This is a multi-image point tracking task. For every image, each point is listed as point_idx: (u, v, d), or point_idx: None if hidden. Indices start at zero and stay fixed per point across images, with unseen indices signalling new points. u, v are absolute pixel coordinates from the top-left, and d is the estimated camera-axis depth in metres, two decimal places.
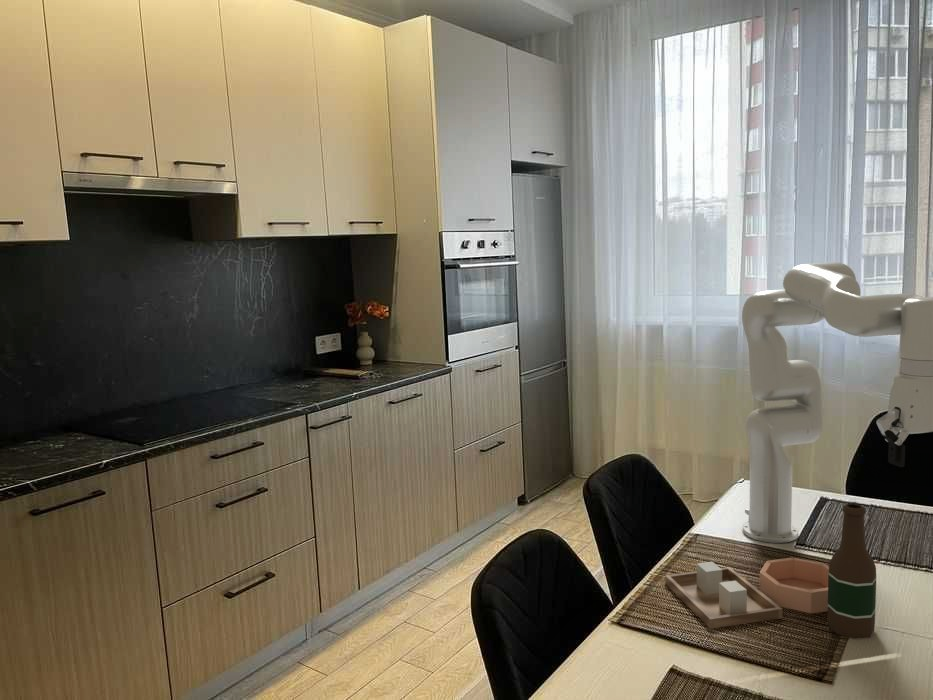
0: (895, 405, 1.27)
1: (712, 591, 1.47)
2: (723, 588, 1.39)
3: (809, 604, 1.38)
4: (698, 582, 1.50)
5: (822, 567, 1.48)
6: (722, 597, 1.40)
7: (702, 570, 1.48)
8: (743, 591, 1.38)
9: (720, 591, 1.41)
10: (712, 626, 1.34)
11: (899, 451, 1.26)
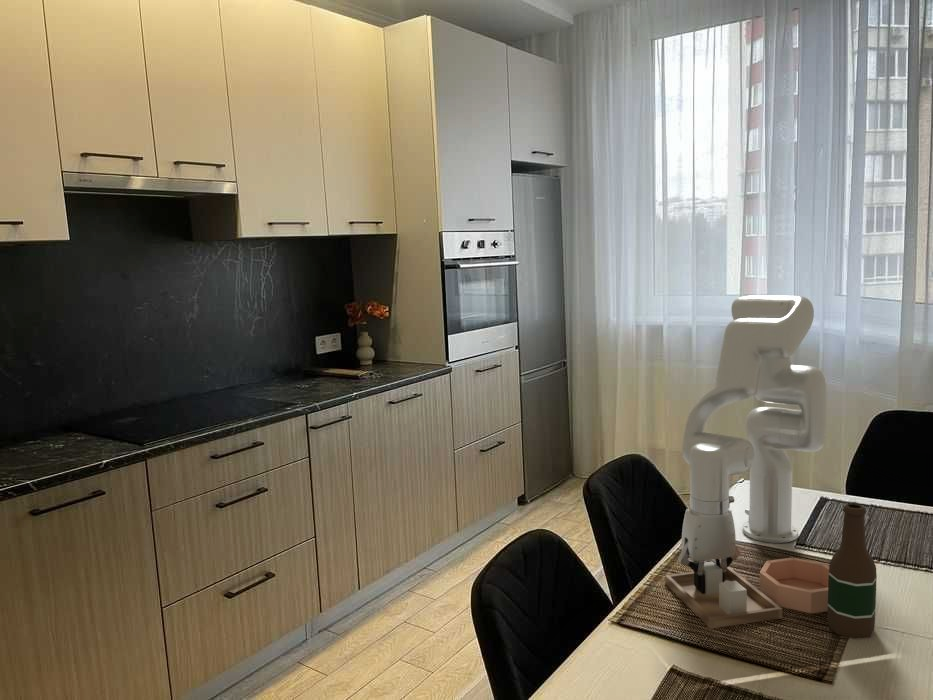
0: (685, 536, 1.47)
1: (712, 591, 1.47)
2: (723, 588, 1.39)
3: (809, 604, 1.38)
4: None
5: (822, 567, 1.48)
6: (722, 597, 1.40)
7: None
8: (743, 591, 1.38)
9: (720, 591, 1.41)
10: (712, 626, 1.34)
11: (701, 580, 1.47)
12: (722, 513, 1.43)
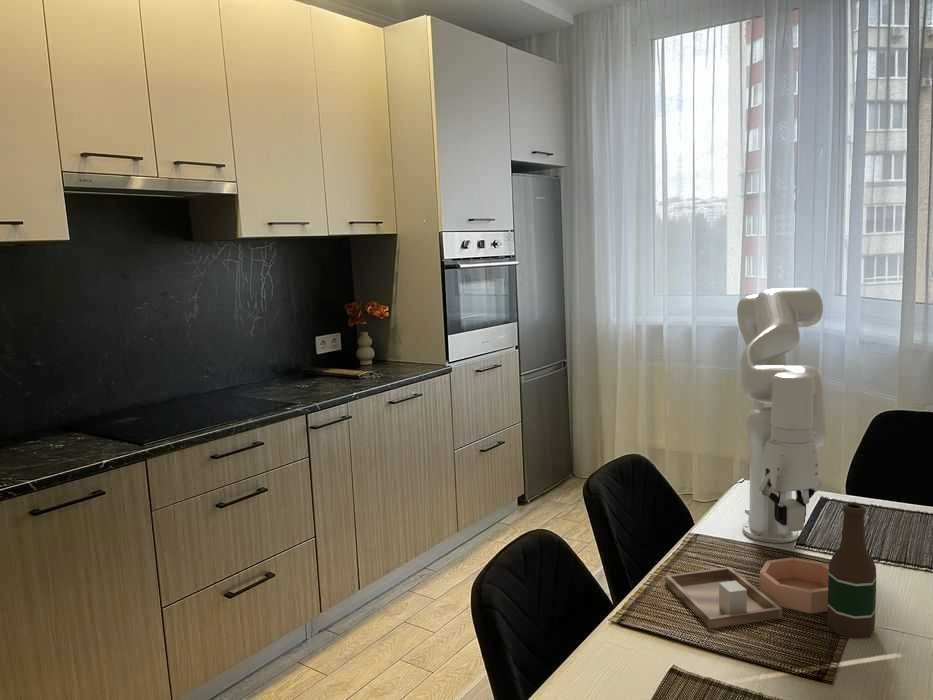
0: (766, 466, 1.44)
1: (793, 528, 1.44)
2: (723, 588, 1.39)
3: (809, 604, 1.38)
4: None
5: (822, 567, 1.48)
6: (722, 597, 1.40)
7: None
8: (743, 591, 1.38)
9: (720, 591, 1.41)
10: (712, 626, 1.34)
11: (782, 512, 1.44)
12: (806, 442, 1.40)
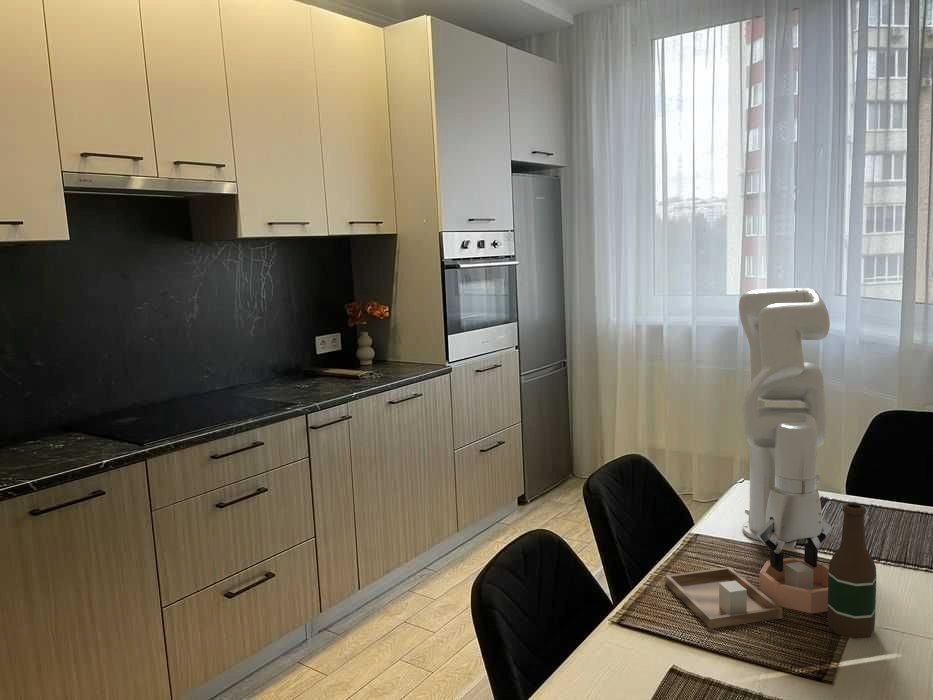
0: (770, 515, 1.45)
1: None
2: (723, 588, 1.39)
3: (809, 604, 1.38)
4: (787, 583, 1.47)
5: (822, 567, 1.48)
6: (722, 597, 1.40)
7: (792, 571, 1.45)
8: (743, 591, 1.38)
9: (720, 591, 1.41)
10: (712, 626, 1.34)
11: (778, 558, 1.45)
12: (810, 492, 1.41)
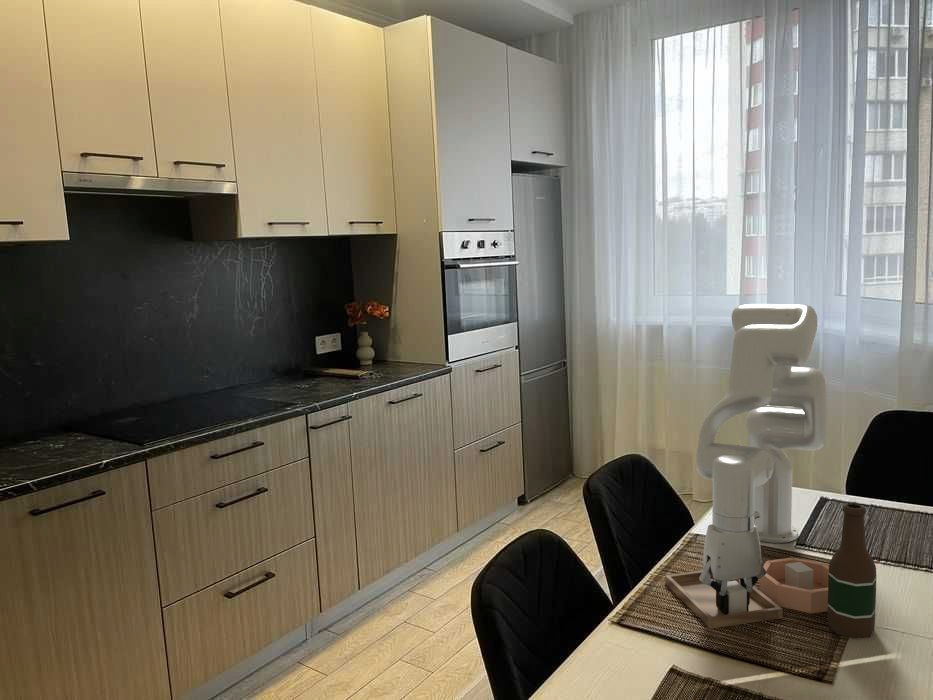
0: (707, 554, 1.38)
1: None
2: None
3: (809, 604, 1.38)
4: (787, 583, 1.47)
5: (822, 567, 1.48)
6: None
7: (792, 571, 1.45)
8: (743, 591, 1.38)
9: None
10: (712, 626, 1.34)
11: (724, 601, 1.38)
12: (747, 530, 1.34)
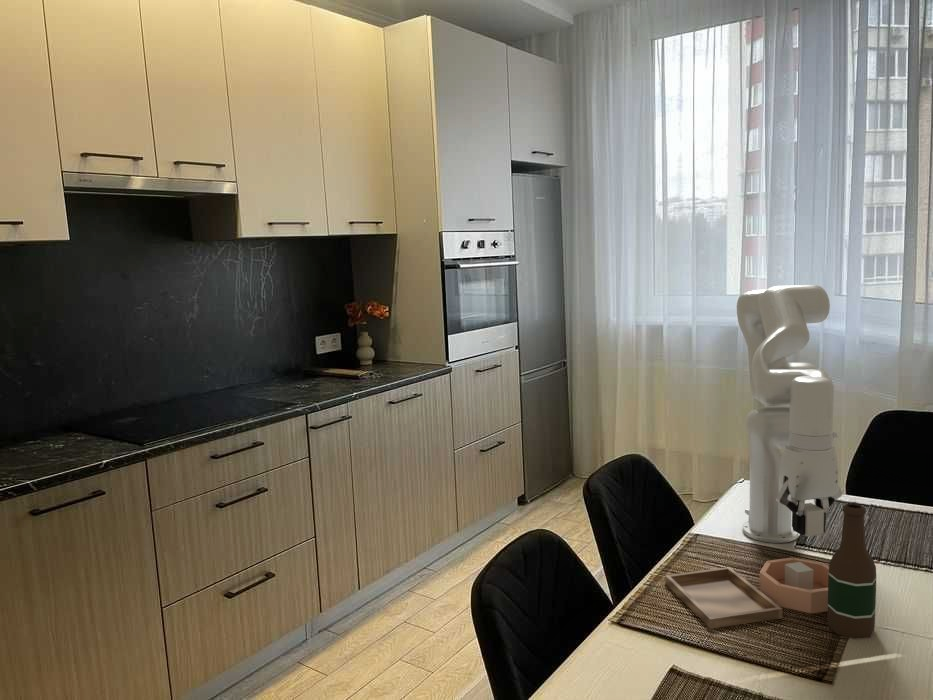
0: (784, 474, 1.39)
1: None
2: None
3: (809, 604, 1.38)
4: (787, 583, 1.47)
5: (822, 567, 1.48)
6: None
7: (792, 571, 1.45)
8: (820, 511, 1.38)
9: None
10: (712, 626, 1.34)
11: (801, 521, 1.39)
12: (826, 449, 1.35)
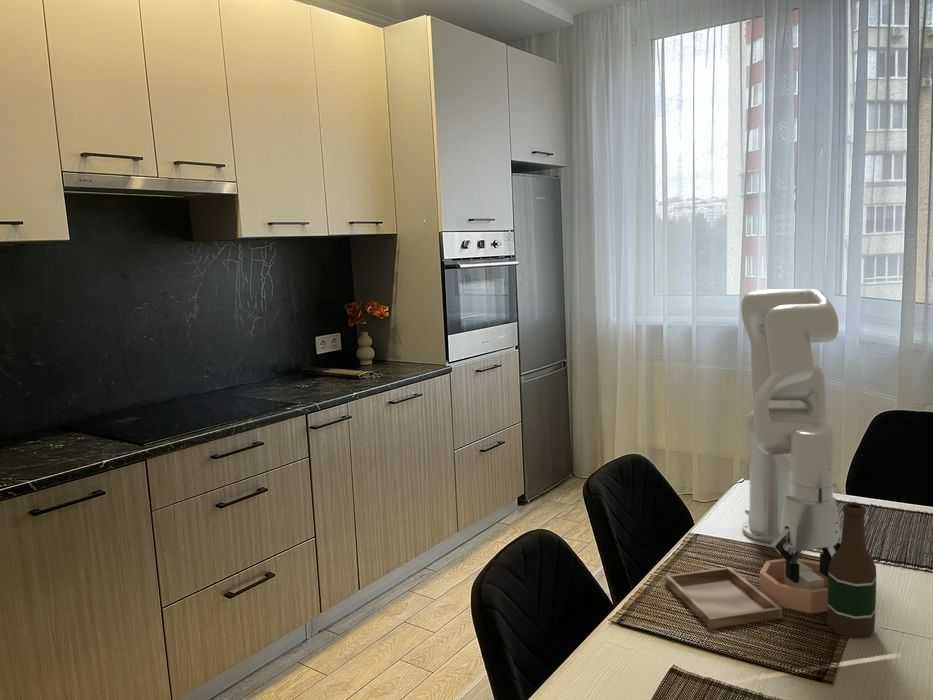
0: (785, 524, 1.40)
1: None
2: (800, 577, 1.42)
3: (809, 604, 1.38)
4: (786, 582, 1.47)
5: None
6: (799, 587, 1.42)
7: None
8: (820, 581, 1.40)
9: None
10: (712, 626, 1.34)
11: (794, 569, 1.40)
12: (827, 500, 1.36)
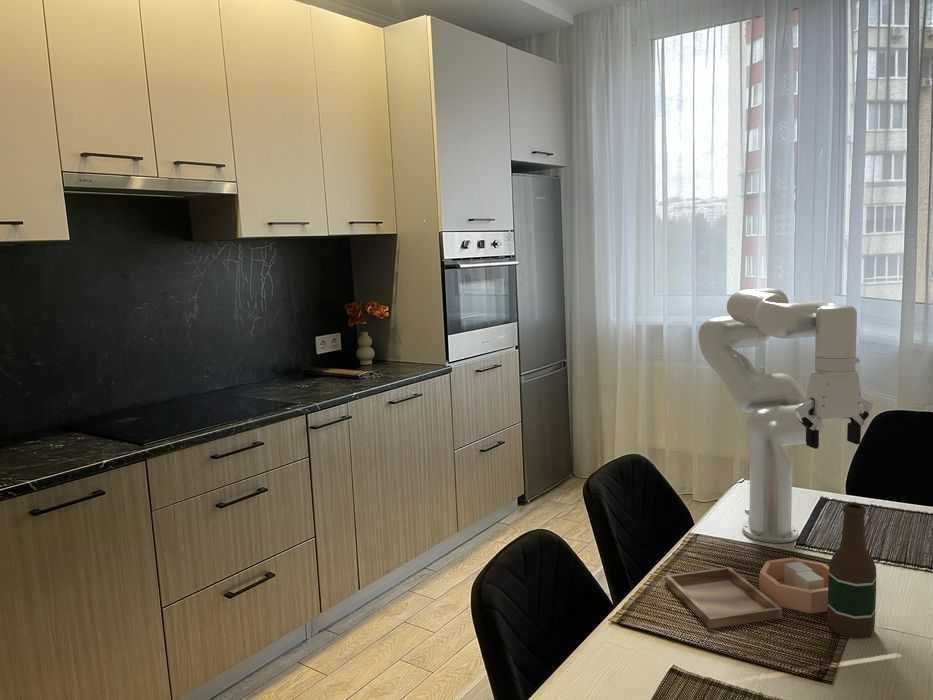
0: (811, 396, 1.49)
1: None
2: (800, 577, 1.42)
3: (809, 604, 1.38)
4: (786, 582, 1.47)
5: (822, 567, 1.48)
6: (799, 587, 1.42)
7: (791, 571, 1.45)
8: (820, 581, 1.40)
9: (797, 581, 1.43)
10: (712, 626, 1.34)
11: (814, 435, 1.49)
12: (850, 370, 1.46)
